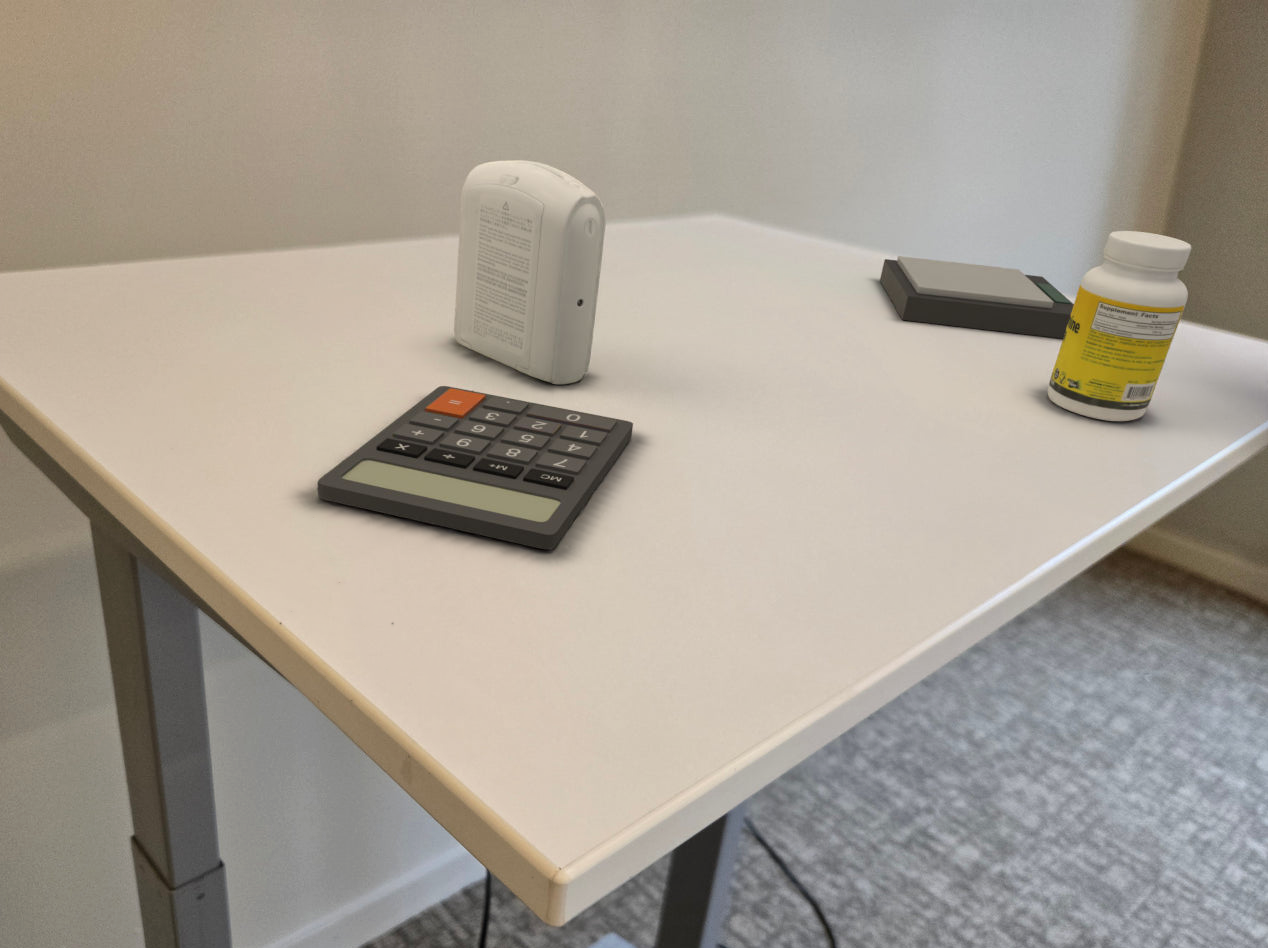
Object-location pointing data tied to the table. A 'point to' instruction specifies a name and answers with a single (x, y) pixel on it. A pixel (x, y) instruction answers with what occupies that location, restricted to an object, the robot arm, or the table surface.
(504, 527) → the calculator
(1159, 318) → the pill bottle
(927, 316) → the scale
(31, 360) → the table surface
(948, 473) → the table surface
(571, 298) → the photo printer
